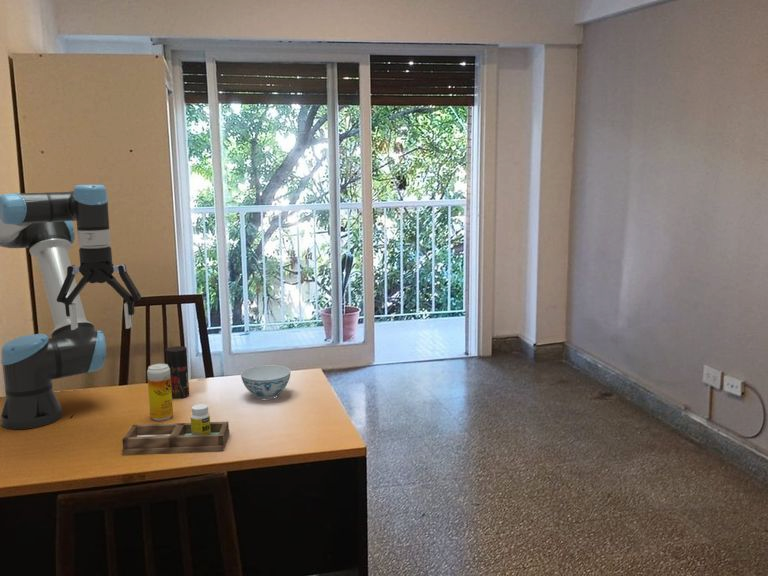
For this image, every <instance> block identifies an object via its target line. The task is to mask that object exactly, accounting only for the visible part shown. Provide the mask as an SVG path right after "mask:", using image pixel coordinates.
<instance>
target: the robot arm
mask: <svg viewBox="0 0 768 576" xmlns="http://www.w3.org/2000/svg"><path fill="white" fill-rule="evenodd" d="M73 222H76V231H77V241H78V245H79V246H80V247H79V248H78V254H79V255H78V257H79V263H80V265H79V266H78V265H77V266H76V265H74V264H72V263H71V260H70V256H69V251H70V249H71V248H72V244H74V242H75V240H76V239H75V237H76V236H75V235H76V234H75V230H74V229H75V227H74V223H73ZM110 230H111V229H110V215H109V198H108V194H107V187H106V186H105V185H103V184H76V185H75V186H74V188H73V190H70V191H55V192H26V193H25V192H23V193H21V192H20V193H19V192H11V193H3V194H0V247H1V248H8V249H28V251H29V254H30V255H31V256H32V257H34V258H36V259H37V262H38V267H39V271H40V274H41V277H42V279H41V280H42V281H43V286H44V290H45V295H46V298H47V301H48V305H49V310H50V312H51V316H52V317H51V318H52V321H53V324H54V329H53V330H52V332H51V333H50V338H49V336H48V335H47V334H46V333H36V334H27V335H24V336H23V335H22V336H19V337H15V338H14V339H12V340H9V341H7V342H6V343H5V344H4V345H3V346H2V347H1V362H0V363H1V365H2V373H3V374H2V375H3V381H4V390H5V391H4V392H5V399H4V403H3V407H2V410H1V414H0V419H1V420H0V421H1V426H2V427H3V428H6V429H11V430H26V429H33V428H39V427H42V426H47V425H49V424H52V423H54V422H56V421H58V420H60V419H61V418H62V416H63V410H62V408H63V407H62V405H61V403H60V401H59V400H58V397H57V395H56V394H55V391H54V388H53V380H57V379H62V378H66V377H72V376H78V375H83V374H89V373H92V372H96V371H100V370H101V369H102V368H103V367H104V365H105V362H106V357H107V343H106V337H105V334H104V333H103V331H102V330H99V329H98V330H96V329H95V326H94V323H92V322H90V321H89V320H87V318H86V314H85V310H84V306H83V304H82V299H81V295H80V293H81V291H82V290H83V289H84V287H85V286H86V285H87V284H88V283H90V284H95V283H98V284H104V283H107V285H109V286H110V287H111V288H112V289H113V290H114V291H115V292H116V293H118V295H120V297H121V298H122V299H124V301H125V303H123V307H124V321H125V322H124V323H125V329H126V330H127V329H130V328H132V325H133V324H132V316H133V315H135V313H136V312H135V302H136V301H139V300H140V299H141V298H142V295H141V294H140V291H139V290H138V288H137V287H136V285H135V283H134V282H133V280H132V278H131V276H130V275H129V274H128V273H129V272H128V271H127V266H126V264H124V263H122V264H119V265H114V264H113V255H112V247H111V246H110V245H111V244H112V242H111V241H112V239H111V231H110ZM78 272H79V273H80V274H81V275H82V277H81V279H80V280H79V281H78V283H77V281H76V275H77V274H78ZM114 272H116V274H118V275H119V276H120V279H121V280H122V282H123V284H124V285H125V287H126V289H125V288H124V287H123V285H122V284H121V283H120V282H119V281H118V280H117V278H116V277H115V276H114V275H113V273H114Z"/></svg>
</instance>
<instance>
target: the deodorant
mask: <svg viewBox="0 0 768 576" xmlns="http://www.w3.org/2000/svg"><path fill="white" fill-rule="evenodd" d="M165 352H166V354H165V355H166V364H167V365H168V366H169V368H170V376H171V391H172V400H180V399H187V398H188V397H189V396H190V382H189V368H188V367H189V365H188V350H187V346H183V345H179V346H178V345H177V346H169V347H167V348H166V349H165Z"/></svg>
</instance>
